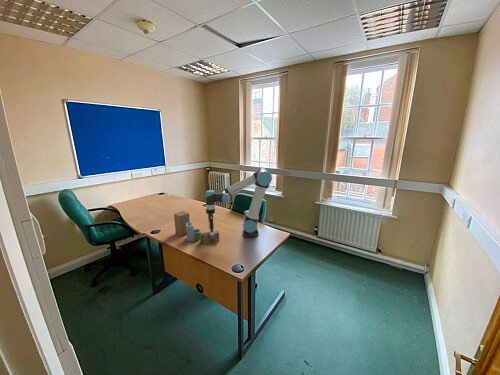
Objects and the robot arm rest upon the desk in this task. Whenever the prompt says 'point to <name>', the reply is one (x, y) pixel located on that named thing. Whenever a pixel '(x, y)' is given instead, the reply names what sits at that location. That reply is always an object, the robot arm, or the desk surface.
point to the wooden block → (181, 222)
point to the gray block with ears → (192, 232)
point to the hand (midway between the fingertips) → (211, 231)
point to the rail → (209, 237)
